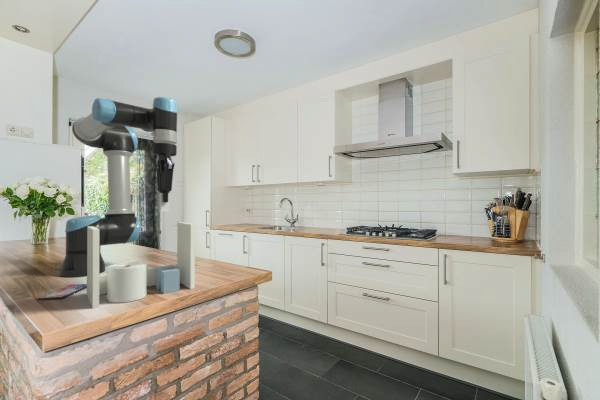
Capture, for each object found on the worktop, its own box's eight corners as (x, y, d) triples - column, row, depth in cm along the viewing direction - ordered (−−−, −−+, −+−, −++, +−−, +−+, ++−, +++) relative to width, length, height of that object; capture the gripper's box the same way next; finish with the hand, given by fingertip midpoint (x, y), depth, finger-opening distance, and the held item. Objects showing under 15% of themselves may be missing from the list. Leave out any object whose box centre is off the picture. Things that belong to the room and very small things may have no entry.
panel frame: (86, 295, 94) (86, 226, 94) (180, 279, 113) (180, 221, 113) (92, 308, 83) (93, 229, 83) (194, 288, 102) (195, 224, 102)
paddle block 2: (160, 291, 98) (161, 270, 98) (176, 288, 102) (176, 268, 102) (163, 294, 96) (163, 272, 96) (179, 291, 99) (179, 270, 99)
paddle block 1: (156, 288, 103) (156, 267, 103) (171, 285, 106) (171, 265, 106) (158, 290, 100) (158, 269, 100) (173, 287, 104) (174, 267, 104)
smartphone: (35, 298, 90) (70, 284, 105) (35, 301, 90) (70, 287, 105) (62, 297, 90) (92, 283, 105) (62, 300, 90) (92, 286, 105)
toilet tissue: (106, 305, 85) (106, 270, 85) (107, 294, 96) (107, 263, 96) (148, 299, 91) (148, 266, 91) (144, 289, 101) (144, 259, 101)
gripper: (148, 144, 106) (147, 210, 106) (159, 139, 96) (158, 213, 96) (170, 147, 111) (169, 210, 111) (182, 142, 101) (181, 212, 101)
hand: (164, 211), depth 104 cm, fingers closed
